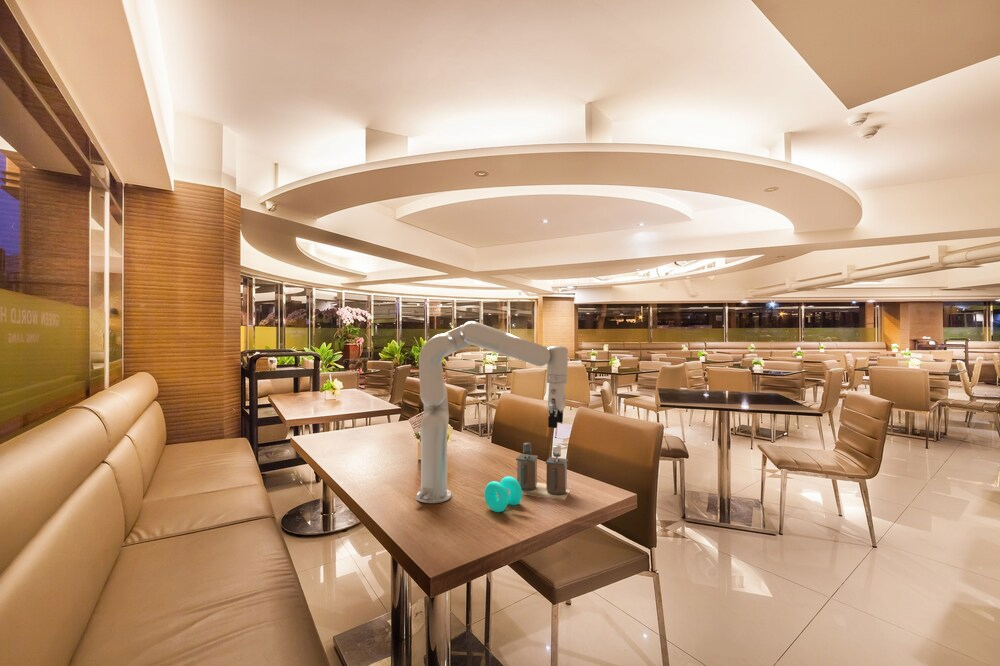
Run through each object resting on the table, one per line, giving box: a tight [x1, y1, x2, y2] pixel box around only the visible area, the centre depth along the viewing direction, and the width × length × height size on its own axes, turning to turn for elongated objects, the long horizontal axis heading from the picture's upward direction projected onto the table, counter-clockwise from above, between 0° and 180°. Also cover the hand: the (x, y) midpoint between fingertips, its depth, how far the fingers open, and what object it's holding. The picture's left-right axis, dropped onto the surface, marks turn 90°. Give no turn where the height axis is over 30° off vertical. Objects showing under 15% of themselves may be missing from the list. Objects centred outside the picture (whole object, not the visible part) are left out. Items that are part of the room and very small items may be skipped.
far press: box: [515, 442, 539, 491], centre depth 157 cm, size 9×7×17 cm
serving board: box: [522, 481, 572, 501], centre depth 156 cm, size 14×20×1 cm
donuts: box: [484, 476, 523, 513], centre depth 142 cm, size 10×10×10 cm
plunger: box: [552, 444, 562, 462], centre depth 154 cm, size 5×5×16 cm
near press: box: [545, 456, 568, 495], centre depth 153 cm, size 9×7×12 cm
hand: (555, 424), depth 155 cm, fingers open, 9 cm apart
